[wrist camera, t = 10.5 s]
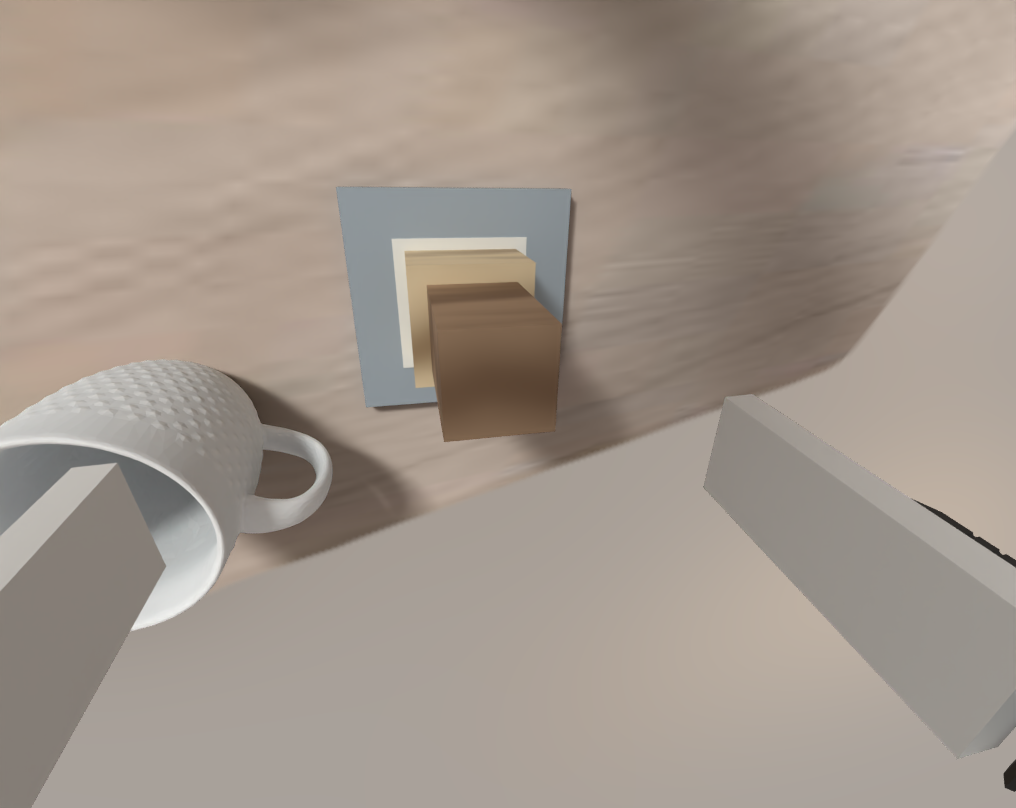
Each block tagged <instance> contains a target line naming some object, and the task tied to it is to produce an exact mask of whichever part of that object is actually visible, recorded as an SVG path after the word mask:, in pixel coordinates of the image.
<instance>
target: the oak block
mask: <svg viewBox="0 0 1016 808" xmlns="http://www.w3.org/2000/svg"><path fill="white" fill-rule="evenodd" d="M404 252H405V265H406V277H407V289H408V302H409V314H410V326H411V338H412V351H413V363H414V375H415V387H416V388H423V387H435V385H434V379H433V373H432V360H431V345H430V330H429V315H428V300H427V285H441V284H471V283H500V282H518V283H519V284H520V285H522V286H523V287H524V288H525V289H526V290H527V291H528V292H529V293H530V294H531V295H532V296H533V297H534V295H535V270H536V262H534V261H533V260H531V259H530V258H528V257H527V256H525V255H524V254H522V253H521V252H520V251H518V250H517V249H478V250H420V251H404Z"/></svg>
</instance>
